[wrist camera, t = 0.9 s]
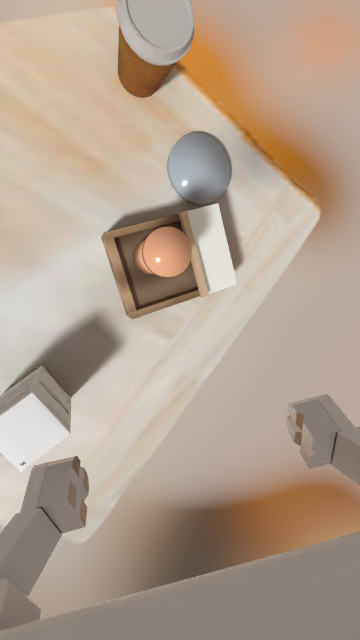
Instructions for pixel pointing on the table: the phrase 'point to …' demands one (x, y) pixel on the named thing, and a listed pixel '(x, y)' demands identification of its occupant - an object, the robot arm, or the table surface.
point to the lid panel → (208, 249)
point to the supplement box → (33, 418)
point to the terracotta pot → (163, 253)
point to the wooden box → (144, 289)
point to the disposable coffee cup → (151, 41)
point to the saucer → (199, 168)
